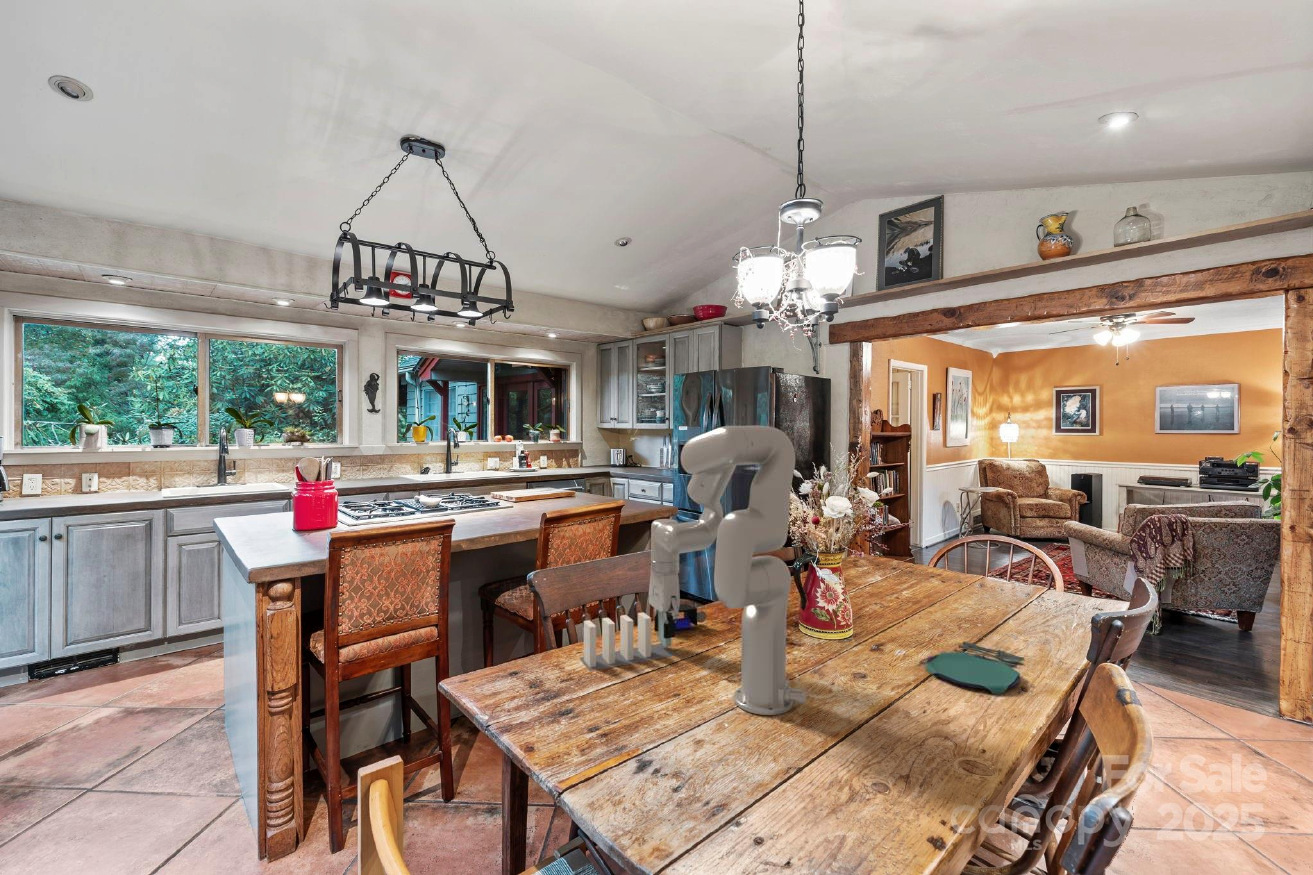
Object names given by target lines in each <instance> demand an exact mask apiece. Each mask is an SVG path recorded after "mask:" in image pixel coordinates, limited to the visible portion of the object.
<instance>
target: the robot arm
mask: <svg viewBox="0 0 1313 875" xmlns="http://www.w3.org/2000/svg"><path fill="white" fill-rule="evenodd" d="M680 463H681V467H682V468H683V470H684V471H685V472H686V473H687V474H690V475H691V478H690V480H689V483H688V485H687V488H686V490H687V491H686V492H687V494H688V496H689V497H690V499H691V500H692V501H694V502H695V503H696V504H698V505H700V506H702V507H704V508H703V510H702V513H701V515H700V517H699V518H698V520H693V521H686V522H685V521H684V522H679V521H677V520H675V519H671V518H660V519H655V520H653V521H652V523H651V525H650V526H651V527H650V528H651V529H650V576H649V587H648V588H649V589H648V604H649V605H650V606H651V607H653V616H654V617H653V618H654V626H653V627H654V629H653V630H654V632H656V633H658V611H660V612H661V613H664V617H665V623H664V638H665V639H667V638H671V639H672V638H675V637H676V630H675V623H676V619H677V618H679V617H680V613H679V611H678V610H679V605H680V603H681V602H680V601H681V600H680V598H681V597H680V595H681V594H680V582H679V573H680V554H685V553H689V552H697V551H702V550H706V549H709V547H711V546H712V545H713V544H714V542H716V543H715V555H714V556H715V558H714V571H713V572H714V573H713V574H714V575H713V581H714V582H713V584H714V590H715V593H716V597H717V599H718V600H719V602H720V603H721V605H723V606H725V607H726V608H729V609H742V608H743V611H742V616H741V630H740V631H741V633H740V634H741V635H740V636H741V637H740V638H741V640H740V641H741V644H740V645H741V647H740V648H741V650H740V652H741V654H740V655H741V656H740V657H741V658H740V660H741V661H740V662H741V667H740V669H741V670H740V671H741V675H740V676H741V679H740V680H741V681H740V682H741V683H740V684H741V686H740V687H739V688H737V689H736V690H735V692H734V693H733V694H734V696H733V700H734V703H735V704H736V705H737V706H738V708H740V709H742V710H744V711H745V712H749V713H751V714H756V715H761V716H777V715H781V714H784V713H787V712H788V711H791V709H793V706H794V703H796V704H800V705H801V704H802V705H806V703H807V694H805V693H803V689H800V688H799V689H798V688H793V687H792V686H790V680H789V679H787V614H788V613H787V612H788V610H787V609H788V602H789V598H790V592H791V587H792V586H791V585H792V576H791V572H790V569H789V568H788V565H787V563H786V562H785V561H783V560H782V559H780V558H779V557H777V556H773V555H762V554H764V553H765V554H766V553H770V552H775V551H778V550H780V549H782V548H783V546H785V544H786V542H787V538H788V532H789V522H790V520H789V519H790V506H791V489H792V483H793V478H794V472H795V467H796V452H795V447H794V445H793V442H792V441H791V439H790V437H789V435H787V434H786V433H785V432H784V431H782V430H781V429H778V428H776V427H773V426H768V425H725V426H720V427H718V428H715V429H712V430H710V431H706V432H704V433H702V434H699V435H697V436H696V435H695V436H694V437H692V438H691V439H689V440H688V441H686V443H685V444H684V445H683V447H682V450H681V453H680ZM747 465H749V466H750V465H758V466H759V469H758V470H757V472H756V473H755V475H754V476H753V479H752V481H751V485H750V487H749V488H750V489H749V500H748V507H747V508H746V509H744V508H743V509H738V510H733V511H730V512H729V513H726V514H725V515H724V511H723V506H722V504H721V498H722V496H723V494H724V492H725V490H726V488H727V486H728V484H729V482H730V480H731V478H732V476H733V473H734V472H735V470H736V467H737V466H747ZM760 554H761V555H760ZM755 555H758V556H755ZM669 608H671V609H672V610H670V611H668V610H669ZM668 613H672V614H671V615H670V616H669V617H668Z"/></svg>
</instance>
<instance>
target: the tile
mask: <svg viewBox="0 0 1313 875" xmlns="http://www.w3.org/2000/svg"><path fill="white" fill-rule="evenodd" d="M670 610H671V608H669V610H668V611H670ZM670 615H672V614H671V613H668V617H669V616H670ZM664 623H665V617H664V613H661V612H660V611H658V631H657V641H658V642H659V644H663V645H664V646H665V647H668V648H669V647H671V646H672V638H667V639H665V638H664Z"/></svg>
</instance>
